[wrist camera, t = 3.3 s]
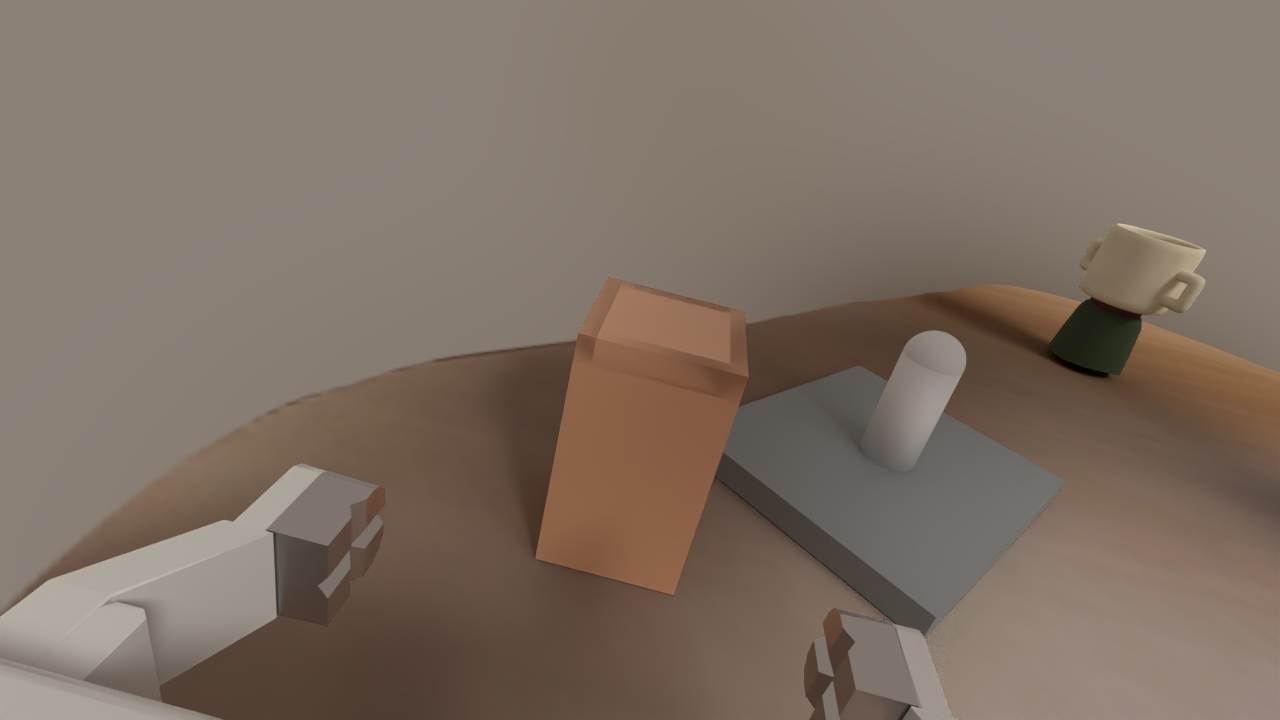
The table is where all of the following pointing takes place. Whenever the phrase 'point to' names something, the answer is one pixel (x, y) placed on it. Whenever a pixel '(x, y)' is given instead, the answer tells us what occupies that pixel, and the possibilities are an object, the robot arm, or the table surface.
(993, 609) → the table surface
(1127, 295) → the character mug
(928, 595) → the base
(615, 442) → the tall lidded tan box
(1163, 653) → the table surface
